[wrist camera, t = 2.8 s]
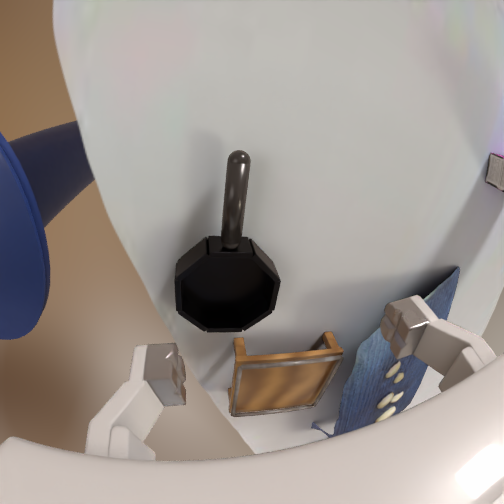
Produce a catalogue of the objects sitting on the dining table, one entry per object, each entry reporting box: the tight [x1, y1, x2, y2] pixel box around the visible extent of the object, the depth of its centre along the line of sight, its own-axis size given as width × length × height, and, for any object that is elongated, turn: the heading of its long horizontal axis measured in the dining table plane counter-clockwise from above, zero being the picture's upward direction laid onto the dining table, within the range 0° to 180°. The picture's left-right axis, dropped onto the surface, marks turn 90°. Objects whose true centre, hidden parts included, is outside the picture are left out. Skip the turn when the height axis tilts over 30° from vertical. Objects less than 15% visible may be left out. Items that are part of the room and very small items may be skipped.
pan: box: [175, 150, 281, 332], centre depth 26 cm, size 10×19×3 cm, turn 173°
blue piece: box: [311, 267, 460, 438], centre depth 46 cm, size 45×27×12 cm, turn 10°
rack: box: [228, 332, 344, 417], centre depth 37 cm, size 14×14×5 cm
